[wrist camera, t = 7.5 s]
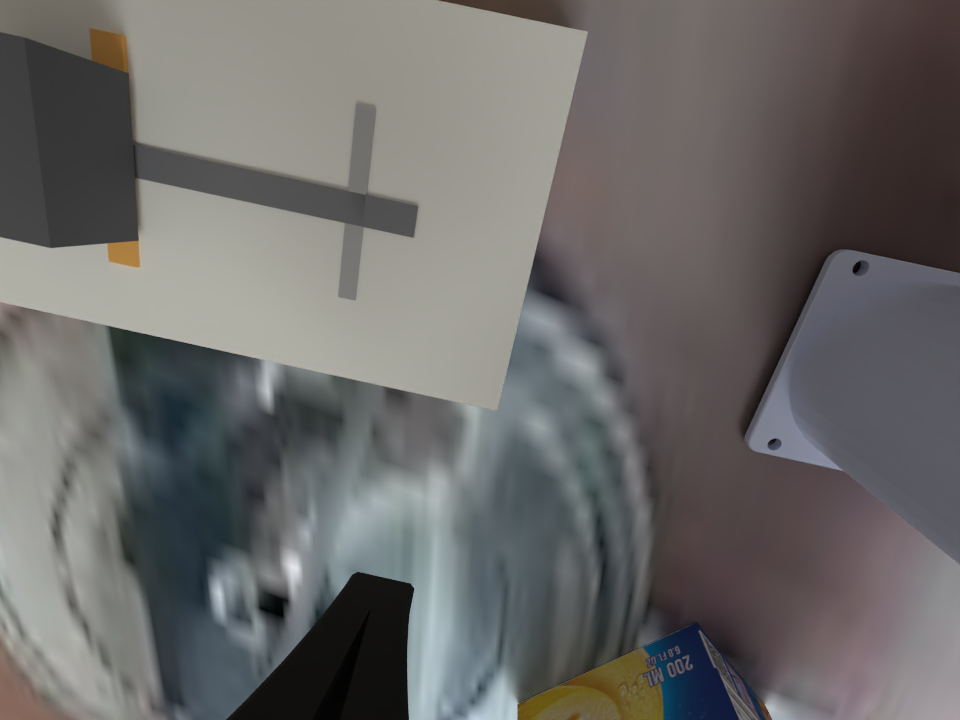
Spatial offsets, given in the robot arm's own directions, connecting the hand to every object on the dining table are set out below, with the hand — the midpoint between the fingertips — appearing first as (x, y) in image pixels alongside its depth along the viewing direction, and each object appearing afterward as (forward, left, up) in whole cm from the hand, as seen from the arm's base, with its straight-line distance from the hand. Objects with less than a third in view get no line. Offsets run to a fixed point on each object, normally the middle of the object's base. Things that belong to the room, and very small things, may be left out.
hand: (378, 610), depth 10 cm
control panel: (+8, -8, -9) cm, 15 cm away
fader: (+13, -8, -7) cm, 17 cm away
